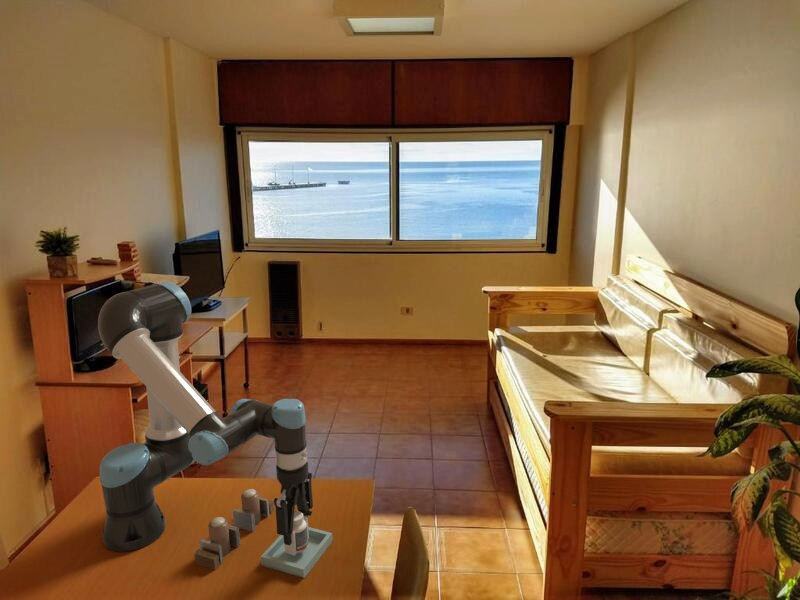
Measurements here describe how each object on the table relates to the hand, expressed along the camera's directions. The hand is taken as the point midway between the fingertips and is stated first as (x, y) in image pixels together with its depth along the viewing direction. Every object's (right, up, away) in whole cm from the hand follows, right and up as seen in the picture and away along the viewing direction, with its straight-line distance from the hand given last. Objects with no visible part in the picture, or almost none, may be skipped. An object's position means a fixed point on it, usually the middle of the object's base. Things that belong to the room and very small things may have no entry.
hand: (297, 545), depth 144 cm
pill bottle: (0, 0, 0) cm, 0 cm away
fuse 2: (-15, +1, +13) cm, 20 cm away
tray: (0, -2, +1) cm, 2 cm away
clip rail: (-17, 0, +7) cm, 19 cm away
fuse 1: (-20, -2, +2) cm, 20 cm away
